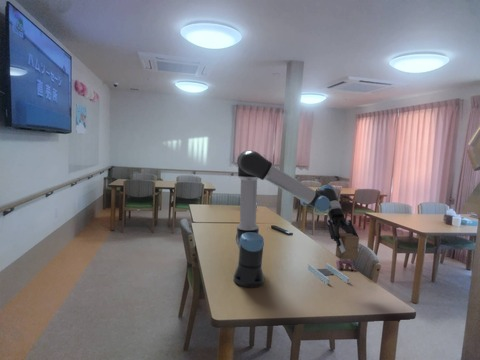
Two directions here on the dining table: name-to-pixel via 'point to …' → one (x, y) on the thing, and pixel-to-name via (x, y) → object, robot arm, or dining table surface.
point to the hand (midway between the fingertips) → (350, 251)
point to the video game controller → (341, 262)
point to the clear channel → (327, 273)
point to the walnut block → (348, 246)
